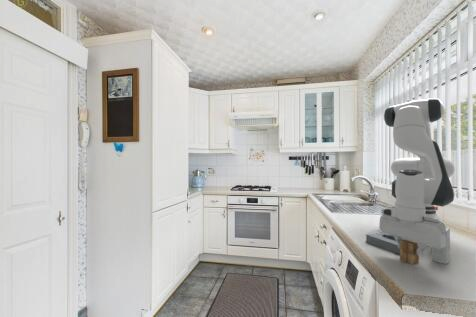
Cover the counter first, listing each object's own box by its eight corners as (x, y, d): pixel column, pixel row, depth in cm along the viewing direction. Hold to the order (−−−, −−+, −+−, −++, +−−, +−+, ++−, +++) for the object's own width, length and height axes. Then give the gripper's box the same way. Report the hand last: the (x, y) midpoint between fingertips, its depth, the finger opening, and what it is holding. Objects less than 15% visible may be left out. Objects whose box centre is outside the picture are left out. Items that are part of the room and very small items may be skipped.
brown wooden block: (408, 257, 83) (408, 238, 83) (420, 261, 79) (420, 242, 79) (398, 259, 80) (398, 240, 81) (410, 264, 77) (410, 244, 77)
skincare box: (434, 256, 84) (435, 225, 85) (450, 260, 81) (450, 227, 81) (431, 260, 81) (431, 227, 81) (447, 264, 77) (447, 230, 77)
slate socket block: (386, 237, 104) (386, 231, 104) (420, 248, 91) (420, 241, 91) (366, 241, 98) (366, 234, 98) (399, 254, 86) (399, 245, 86)
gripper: (450, 220, 72) (450, 262, 72) (387, 207, 90) (386, 241, 90) (440, 222, 69) (439, 265, 69) (377, 208, 88) (376, 243, 88)
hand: (409, 251), depth 80 cm, fingers closed on brown wooden block, 4 cm apart
